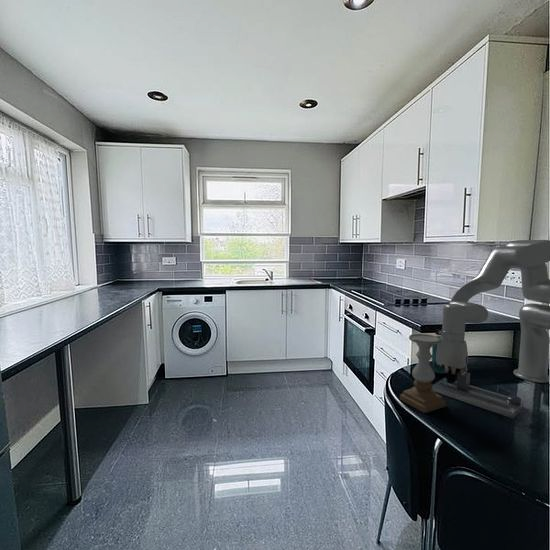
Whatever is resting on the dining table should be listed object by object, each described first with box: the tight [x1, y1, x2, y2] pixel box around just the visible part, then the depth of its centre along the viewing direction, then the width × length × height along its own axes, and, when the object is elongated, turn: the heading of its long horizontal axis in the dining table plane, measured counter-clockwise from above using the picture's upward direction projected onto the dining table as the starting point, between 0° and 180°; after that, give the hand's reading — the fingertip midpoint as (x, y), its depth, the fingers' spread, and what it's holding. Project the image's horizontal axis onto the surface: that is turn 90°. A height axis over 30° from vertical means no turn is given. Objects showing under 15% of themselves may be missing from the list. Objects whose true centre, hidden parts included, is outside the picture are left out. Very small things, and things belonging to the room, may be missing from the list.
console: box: [431, 377, 524, 420], centre depth 115 cm, size 12×26×4 cm, turn 40°
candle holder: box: [399, 333, 447, 414], centre depth 111 cm, size 11×11×24 cm
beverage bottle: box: [430, 328, 446, 374], centre depth 136 cm, size 6×7×20 cm
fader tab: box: [456, 371, 471, 391], centre depth 117 cm, size 4×3×6 cm
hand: (450, 382), depth 121 cm, fingers closed
